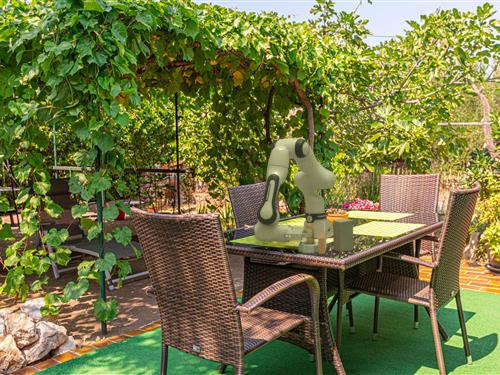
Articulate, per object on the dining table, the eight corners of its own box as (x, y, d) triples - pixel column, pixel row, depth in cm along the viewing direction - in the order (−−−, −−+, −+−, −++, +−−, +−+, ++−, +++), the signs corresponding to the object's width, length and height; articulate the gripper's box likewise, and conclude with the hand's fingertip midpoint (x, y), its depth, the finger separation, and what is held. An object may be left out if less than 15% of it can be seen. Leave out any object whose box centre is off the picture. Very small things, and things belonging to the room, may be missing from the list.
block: (298, 252, 253) (298, 245, 253) (300, 247, 267) (300, 240, 267) (318, 253, 251) (318, 246, 251) (320, 247, 265) (320, 241, 265)
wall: (318, 254, 249) (318, 238, 249) (320, 247, 267) (320, 232, 266) (324, 254, 249) (324, 238, 248) (326, 247, 266) (326, 232, 266)
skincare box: (346, 248, 262) (346, 218, 261) (354, 251, 256) (354, 219, 255) (332, 250, 259) (332, 219, 258) (340, 252, 253) (339, 221, 251)
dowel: (309, 249, 262) (309, 222, 261) (316, 250, 259) (315, 223, 258) (305, 251, 259) (304, 223, 258) (311, 251, 256) (311, 224, 255)
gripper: (282, 230, 250) (310, 230, 248) (287, 224, 270) (313, 224, 268) (282, 243, 251) (311, 243, 248) (287, 236, 271) (314, 236, 268)
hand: (312, 233), depth 258 cm, fingers open, 8 cm apart
